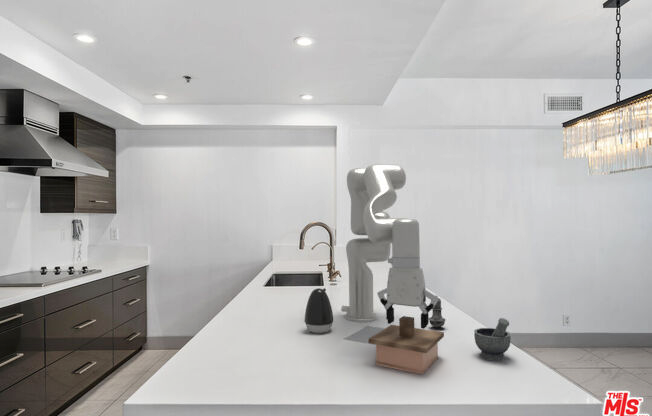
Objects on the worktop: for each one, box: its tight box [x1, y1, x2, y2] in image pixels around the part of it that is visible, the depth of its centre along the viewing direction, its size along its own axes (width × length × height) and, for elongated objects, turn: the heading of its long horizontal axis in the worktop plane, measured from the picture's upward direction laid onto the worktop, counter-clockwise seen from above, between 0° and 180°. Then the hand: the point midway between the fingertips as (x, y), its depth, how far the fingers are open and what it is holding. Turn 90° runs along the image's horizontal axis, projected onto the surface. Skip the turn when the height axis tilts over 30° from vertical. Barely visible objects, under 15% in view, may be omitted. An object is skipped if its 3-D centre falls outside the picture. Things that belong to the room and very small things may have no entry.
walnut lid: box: [369, 315, 445, 353], centre depth 110 cm, size 16×16×6 cm
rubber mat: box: [343, 325, 386, 346], centre depth 133 cm, size 18×18×1 cm
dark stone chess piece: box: [429, 295, 446, 331], centre depth 141 cm, size 6×6×12 cm
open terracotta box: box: [375, 342, 439, 375], centre depth 110 cm, size 13×13×6 cm
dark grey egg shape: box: [304, 288, 334, 334], centre depth 140 cm, size 10×10×15 cm
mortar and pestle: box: [473, 317, 512, 362], centre depth 113 cm, size 11×9×12 cm
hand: (407, 324), depth 110 cm, fingers open, 9 cm apart
